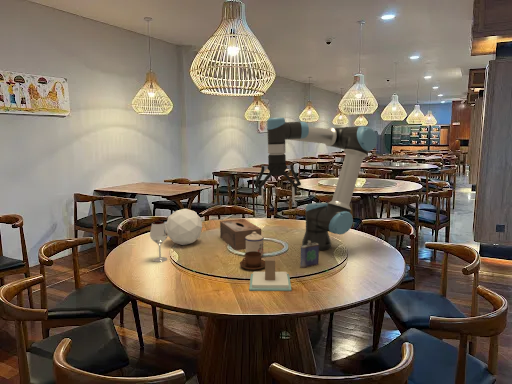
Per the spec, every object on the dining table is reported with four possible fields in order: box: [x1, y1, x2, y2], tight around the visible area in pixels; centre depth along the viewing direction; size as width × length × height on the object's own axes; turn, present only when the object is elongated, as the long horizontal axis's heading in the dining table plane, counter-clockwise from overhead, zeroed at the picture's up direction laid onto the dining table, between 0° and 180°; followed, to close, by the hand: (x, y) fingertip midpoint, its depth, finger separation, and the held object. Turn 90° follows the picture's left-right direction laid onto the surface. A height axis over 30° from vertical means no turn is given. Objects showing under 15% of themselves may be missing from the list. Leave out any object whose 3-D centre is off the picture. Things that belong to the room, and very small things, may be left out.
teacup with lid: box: [245, 232, 264, 257], centre depth 185 cm, size 12×9×12 cm
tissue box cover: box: [219, 218, 262, 251], centre depth 207 cm, size 26×14×10 cm, turn 23°
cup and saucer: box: [239, 251, 265, 271], centre depth 168 cm, size 12×12×6 cm
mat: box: [248, 273, 292, 292], centre depth 151 cm, size 16×16×1 cm
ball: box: [165, 208, 203, 246], centre depth 204 cm, size 19×20×20 cm
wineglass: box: [149, 221, 168, 263], centre depth 177 cm, size 8×8×18 cm
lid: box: [252, 256, 289, 288], centre depth 150 cm, size 14×14×9 cm
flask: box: [299, 240, 320, 269], centre depth 169 cm, size 10×3×12 cm, turn 121°
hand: (278, 202), depth 166 cm, fingers open, 13 cm apart
